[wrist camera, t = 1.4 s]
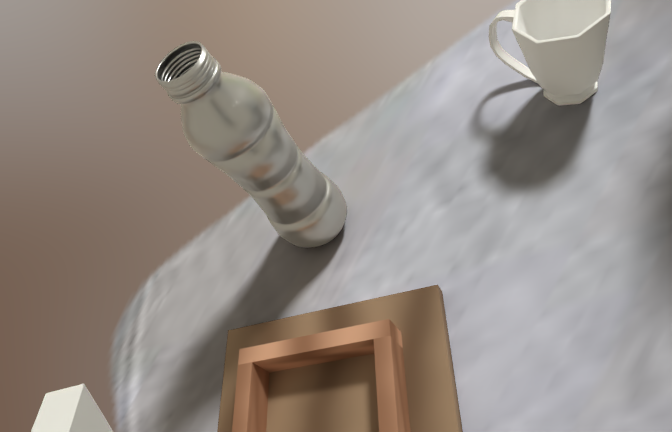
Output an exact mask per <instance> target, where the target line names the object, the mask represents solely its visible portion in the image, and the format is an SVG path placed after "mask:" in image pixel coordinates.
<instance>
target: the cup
mask: <svg viewBox="0 0 672 432" xmlns="http://www.w3.org/2000/svg"><path fill="white" fill-rule="evenodd" d="M610 10H611V0H521V1H520V2H518V3H517V4H516V6H515V10H505V11H501V12H499V14H498V15H497V16H496V18H495V19H494V20H493V22H492V23H491V24H490V26H489V41H490V46H491V48H492V50H493V52H494V53H495V55H496V56H497V57H498V58H499V59H500V60H501V61H502V62H503V63H504V64H506V65H507V66H509V67H510V68H512V69H513V70H515V71H516V72H518V73H519V74H521V75H522V76H524V77H526V78H528V79H530V80H532V81H534V82H536V83H538V84H539V85H540V86H541V87H542V88H543V89H544V92H543V94H544V97H546V98H547V99H549V100H550V101H552V102H553V103H555V104H556V105H558V106H561V105H572V104H581V103H582V102H583V101H585V100H586V99H587V98H589V97H590V96H591V95H593V94H594V93H595V92H597V89H598V78H599V75H600V72H601V68H602V65H603V61H604V54H605V46H606V39H607V33H608V27H609V19H610ZM501 20H505V21H509V22H513V25H512V31H513V33H514V35H515V37H516V40H517V42H518V44H519V46H520V48H521V50H522V52H523V55H524V57H525V59H526V62H527V64H528V66H529V68H528V67H526V66H525V65H523V64H522V63H520V62H519V61H517V60H516V59H515V58H513V57H512V56H510V55H509V54H508V53H507V52H506V51H505V50H503V48H502V47H501V45H500V43H499V42H498V39H497V32H496V29H497V22H498V21H501Z"/></svg>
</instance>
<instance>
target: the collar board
mask: <svg viewBox="0 0 672 432" xmlns="http://www.w3.org/2000/svg"><path fill="white" fill-rule="evenodd" d="M217 432H463V431H462V424H461V417H460V411H459V404H458V397H457V390H456V383H455V376H454V370H453V363H452V356H451V349H450V342H449V335H448V329H447V322H446V315H445V308H444V301H443V294H442V291H441V289H440V288H439V286H438V285H434V286H430V287H425V288H420V289H416V290H411V291H407V292H402V293H398V294H393V295H388V296H384V297H379V298H375V299H370V300H365V301H361V302H356V303H352V304H347V305H343V306H338V307H333V308H329V309H324V310H320V311H315V312H310V313H306V314H301V315H297V316H292V317H288V318H283V319H278V320H274V321H269V322H265V323H260V324H255V325H251V326H246V327H242V328H237V329H233V330H228V338H227V347H226V356H225V366H224V375H223V384H222V394H221V403H220V413H219V422H218V431H217Z"/></svg>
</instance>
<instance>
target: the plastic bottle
mask: <svg viewBox="0 0 672 432" xmlns="http://www.w3.org/2000/svg"><path fill="white" fill-rule="evenodd" d="M155 77H156V80H157V81H158V82H159V84H160V85H161V86H162V87H163V88H164V89H165V90H166V91H167V93H168V96H169V97H170V98H171V99H172V100H173V101H174V102H175V103H177V104H181V121H182V128H183V132H184V135H185V137H186V139H187V141H188V143H189V145H190V146H191V148H192V149H193V150H194V151H195V152H197V153H198V154H199V155H200V156H201V157H203V158H204V159H206V160H208V161H209V162H210V163H211V164H213V165H214V166H216V167H217V168H218V169H220V170H221V171H223V172H224V173H225V174H227V175H228V176H229V177H230V178H232V179H233V180H234V181H235V182H236V183H237V184H238V185H240V186H241V187H242V188H243V189H244V190H245V191H246V192H247V193H248V194H250V195H251V196H252V198H253V199H254V200H255V201H256V203H257V204H258V205H259V206H260V207H261V209H262V210H263V211H264V212H265V214H266V215H267V217H268V219H269V221H270V223H271V224H272V226H273V227H274V229H275V230H276V231H277V233H278V234H279V235H280V236H281V237H282V238H284V239H285V240H287V241H288V242H290V243H292V244H293V245H295V246H298V247H303V248H310V247H317V246H321V245H324V244H326V243H328V242H329V241H331V240H332V239H333V238H335V237H336V236H337V235H338V233H339V232H340V231H341V229H342V228H343V225H344V223H345V220H346V215H347V205H346V201H345V199H344V197H343V195H342V192H341V191H340V189H339V187H338V186H337V185H336V184H335V183H334V182H332V181H331V180H330V179H329V178H328V177H327V176H326V175H324V174H323V173H322V172H320V171H319V170H318V169H317V168H316V167H315V166H314V165H313V164H312V163H311V162H310V161H309V160H308V159H307V158H306V157H305V156H304V155H303V154H302V152H301V151H300V149H299V148H298V146H297V145H296V144H295V142H294V141H293V139H292V138H291V136H290V135H289V133H288V132H287V131H286V129H285V127H284V125H283V123H282V121H281V120H280V118H279V116H278V114H277V112H276V110H275V108H274V106H273V105H272V103H271V101H270V99H269V97H268V96H267V95H266V93H265V91H264V90H263V89H262V88H260V86H258V85H257V84H255V83H254V82H252V81H251V80H249V79H247V78H244V77H241V76H238V75H235V74H230V73H226V72H221V66H220V64H219V63H218V61H217V60H216V59H215V58H214V57H212V56H211V55H210V54H209V52H208V51H207V50H206V48H205V47H204V46H203V45H202V44H201V43H199V42H196V41H192V42H187V43H184V44H182V45H180V46H178V47H176V48H175V49H173V50H172V51H171V52H169V53H168V54H167V55H166V56H165V57H164V58H163V60H162V61H161V62H160V64H159V65H158V67H157V69H156V72H155Z"/></svg>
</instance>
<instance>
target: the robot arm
mask: <svg viewBox="0 0 672 432" xmlns="http://www.w3.org/2000/svg"><path fill="white" fill-rule="evenodd" d="M31 432H113V430H112V429H111V427H110V426H109V424H108V422H107V421H106V419H105V417H104V416H103V414H102V413H101V411H100V409H99V407H98V406H97V404H96V402H95V401H94V399H93V397H92V396H91V394H90V393H89V391H88V390H87V388H86V386H85V384H81V385H78V386H73V387H69V388H65V389H61V390H58V391H54V392H50V393H46V395H45V397H44V400H43V402H42V405H41V408H40V410H39V413H38V415H37V418H36V421H35V423H34V426H33V428H32V431H31Z"/></svg>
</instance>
